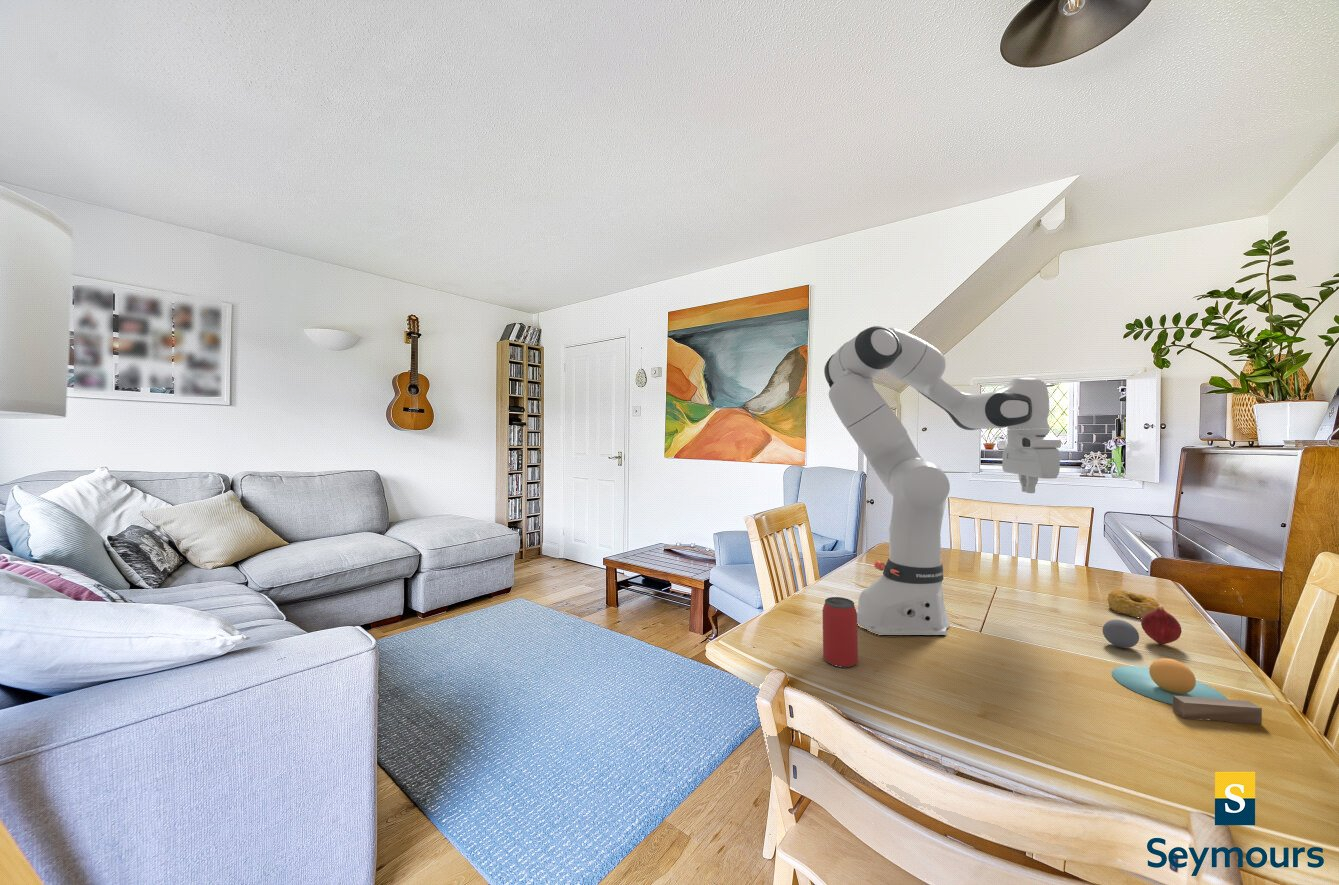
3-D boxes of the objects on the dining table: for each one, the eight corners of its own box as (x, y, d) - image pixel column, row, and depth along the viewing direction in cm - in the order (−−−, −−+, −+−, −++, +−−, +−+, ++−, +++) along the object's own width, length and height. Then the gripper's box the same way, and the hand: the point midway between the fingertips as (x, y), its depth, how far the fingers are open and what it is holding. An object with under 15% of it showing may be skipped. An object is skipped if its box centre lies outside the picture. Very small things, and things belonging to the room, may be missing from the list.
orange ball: (1177, 668, 78) (1152, 646, 83) (1158, 693, 80) (1134, 670, 85) (1213, 681, 77) (1185, 659, 83) (1192, 706, 79) (1166, 682, 84)
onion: (1189, 651, 95) (1189, 612, 95) (1156, 649, 96) (1155, 610, 96) (1165, 639, 101) (1165, 602, 101) (1134, 637, 102) (1134, 600, 102)
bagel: (1122, 618, 112) (1122, 599, 112) (1098, 603, 123) (1098, 585, 123) (1176, 624, 109) (1177, 604, 109) (1148, 608, 119) (1148, 589, 119)
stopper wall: (1261, 724, 72) (1261, 708, 72) (1184, 718, 74) (1184, 702, 74) (1248, 716, 74) (1248, 700, 74) (1173, 711, 76) (1173, 695, 76)
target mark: (1184, 714, 75) (1184, 713, 75) (1091, 671, 88) (1091, 670, 88) (1253, 704, 77) (1253, 703, 77) (1152, 663, 91) (1152, 662, 91)
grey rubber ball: (1125, 611, 98) (1094, 617, 102) (1131, 627, 94) (1099, 633, 98) (1141, 633, 98) (1110, 639, 102) (1149, 650, 94) (1115, 656, 97)
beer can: (832, 650, 99) (831, 593, 99) (863, 660, 94) (862, 601, 94) (817, 661, 94) (816, 601, 94) (848, 672, 90) (848, 610, 90)
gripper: (995, 439, 135) (995, 488, 135) (1036, 441, 115) (1036, 497, 115) (1020, 439, 133) (1020, 488, 134) (1065, 440, 113) (1066, 498, 114)
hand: (1028, 492), depth 124 cm, fingers closed
